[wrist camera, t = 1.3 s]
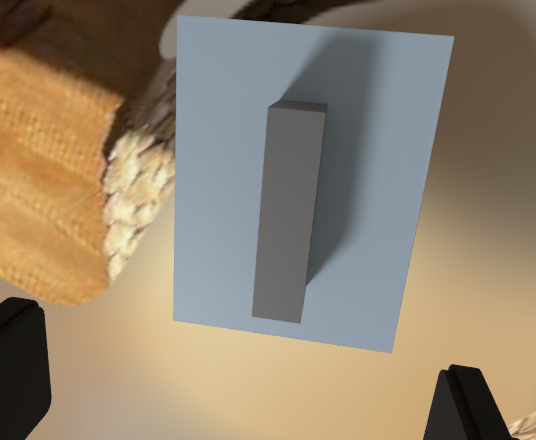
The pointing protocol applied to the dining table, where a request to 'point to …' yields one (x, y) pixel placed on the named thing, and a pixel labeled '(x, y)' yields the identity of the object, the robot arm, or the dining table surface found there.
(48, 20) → the dining table surface
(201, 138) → the lid
